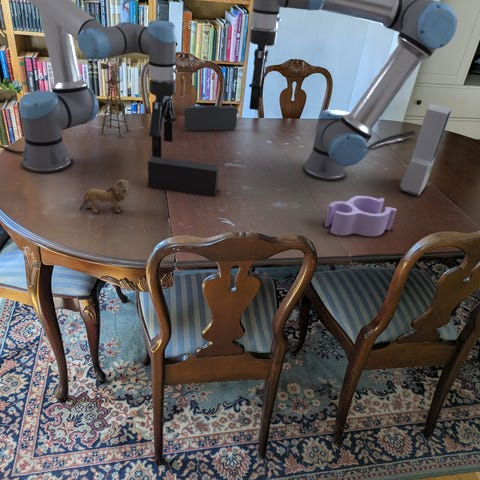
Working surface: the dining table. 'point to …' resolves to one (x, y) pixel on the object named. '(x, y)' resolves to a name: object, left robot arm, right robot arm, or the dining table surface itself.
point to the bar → (183, 176)
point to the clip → (359, 216)
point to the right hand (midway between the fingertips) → (256, 102)
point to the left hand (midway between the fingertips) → (162, 148)
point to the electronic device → (425, 149)
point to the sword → (389, 142)
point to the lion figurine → (107, 195)
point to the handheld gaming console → (210, 118)
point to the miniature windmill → (112, 82)
